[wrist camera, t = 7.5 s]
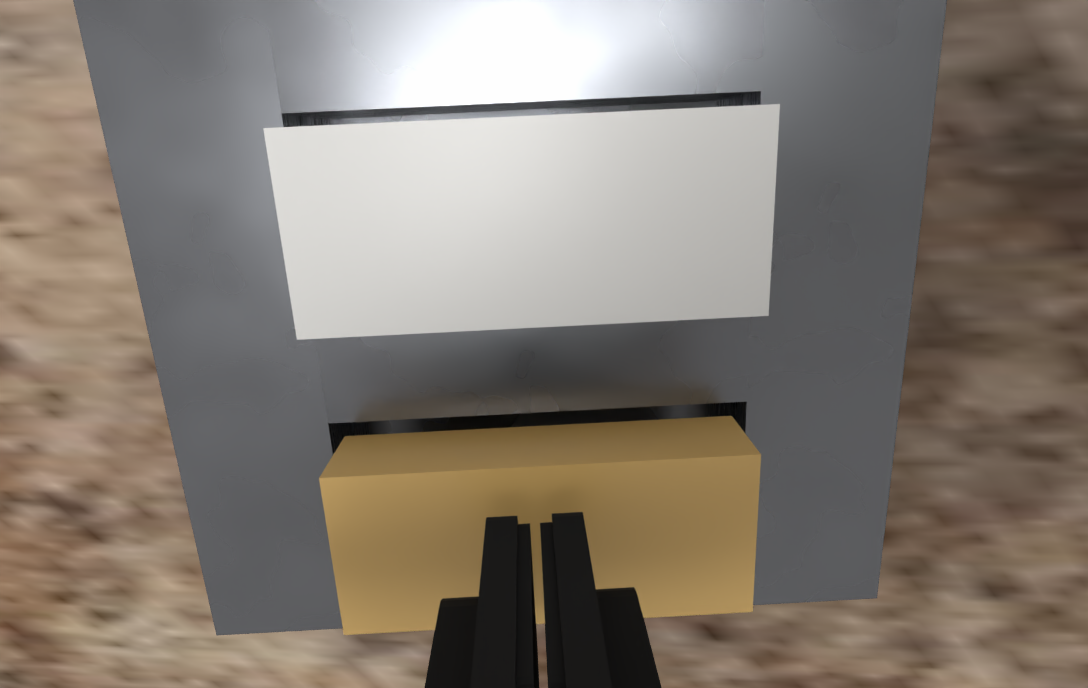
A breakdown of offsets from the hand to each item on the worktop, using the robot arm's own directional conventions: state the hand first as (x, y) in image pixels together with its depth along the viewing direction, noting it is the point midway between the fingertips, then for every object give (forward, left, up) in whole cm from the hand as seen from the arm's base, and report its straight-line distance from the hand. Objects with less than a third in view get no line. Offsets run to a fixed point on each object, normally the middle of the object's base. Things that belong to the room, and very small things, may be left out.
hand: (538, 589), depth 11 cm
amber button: (0, 0, -3) cm, 3 cm away
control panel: (0, -6, -7) cm, 9 cm away
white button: (0, -6, -3) cm, 7 cm away
